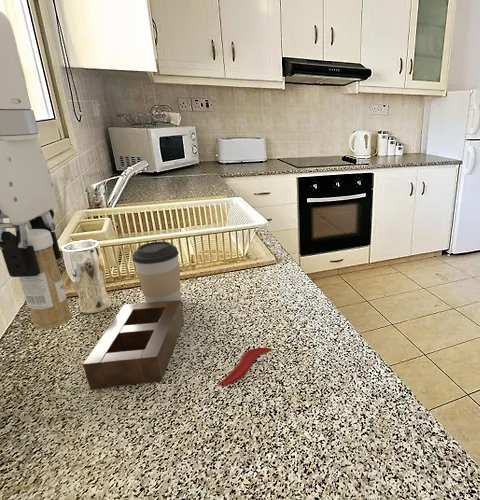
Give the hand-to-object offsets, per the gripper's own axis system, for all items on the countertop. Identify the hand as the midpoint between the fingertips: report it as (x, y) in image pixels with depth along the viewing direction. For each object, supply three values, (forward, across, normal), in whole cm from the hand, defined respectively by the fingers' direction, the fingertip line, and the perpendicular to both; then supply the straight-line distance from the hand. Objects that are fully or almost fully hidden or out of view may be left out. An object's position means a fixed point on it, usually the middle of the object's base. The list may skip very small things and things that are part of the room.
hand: (37, 265), depth 50 cm
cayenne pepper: (+23, -4, +26) cm, 35 cm away
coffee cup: (+23, -29, +7) cm, 37 cm away
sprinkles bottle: (+9, 0, 0) cm, 9 cm away
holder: (+23, -12, +7) cm, 27 cm away
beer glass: (+24, -31, -8) cm, 40 cm away
